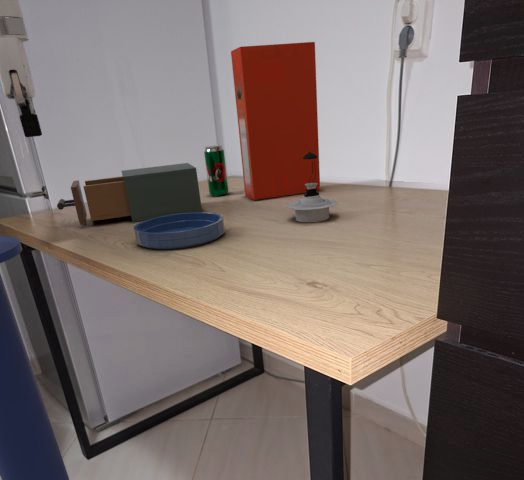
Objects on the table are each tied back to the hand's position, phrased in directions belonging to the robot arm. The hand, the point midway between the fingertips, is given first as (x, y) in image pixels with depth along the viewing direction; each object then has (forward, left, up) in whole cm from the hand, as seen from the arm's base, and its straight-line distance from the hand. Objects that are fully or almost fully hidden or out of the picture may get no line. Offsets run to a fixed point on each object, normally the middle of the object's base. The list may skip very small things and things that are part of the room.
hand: (33, 136), depth 103 cm
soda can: (+40, +14, -19) cm, 46 cm away
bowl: (+24, -28, -19) cm, 41 cm away
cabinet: (+24, 0, -19) cm, 30 cm away
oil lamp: (+50, -28, -19) cm, 60 cm away
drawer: (+10, 0, -18) cm, 21 cm away
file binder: (+54, +3, -19) cm, 57 cm away
